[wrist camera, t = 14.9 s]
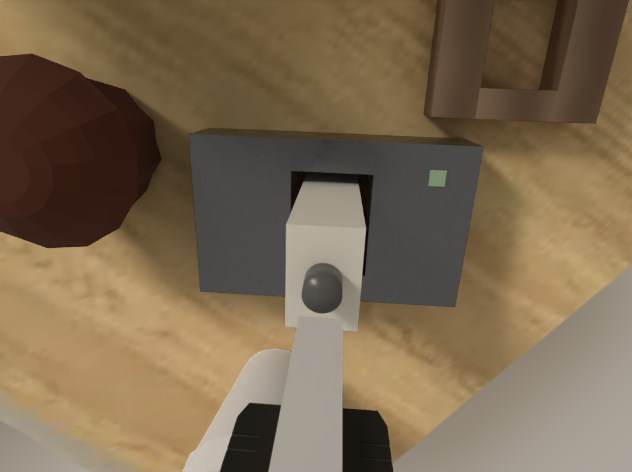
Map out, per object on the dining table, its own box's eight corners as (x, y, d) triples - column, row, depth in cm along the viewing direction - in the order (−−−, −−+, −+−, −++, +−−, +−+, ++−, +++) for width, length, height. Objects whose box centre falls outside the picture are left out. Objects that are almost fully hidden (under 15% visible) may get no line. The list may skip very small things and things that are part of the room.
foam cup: (315, 324, 34) (300, 457, 22) (341, 409, 37) (341, 568, 25) (210, 344, 35) (141, 480, 23) (244, 425, 38) (198, 583, 26)
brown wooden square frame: (423, 114, 28) (431, 117, 25) (445, -61, 24) (456, -76, 22) (573, 120, 27) (595, 123, 25) (618, -57, 24) (648, -73, 21)
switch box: (216, 268, 33) (199, 292, 29) (208, 127, 29) (187, 134, 25) (441, 281, 32) (455, 308, 28) (464, 138, 28) (484, 147, 24)
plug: (305, 240, 31) (280, 344, 19) (307, 171, 29) (281, 235, 17) (351, 243, 31) (358, 350, 19) (356, 174, 29) (368, 240, 17)
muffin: (49, 219, 32) (-72, 274, 23) (2, 69, 28) (-166, 60, 19) (194, 212, 31) (130, 266, 22) (166, 55, 27) (74, 39, 18)
